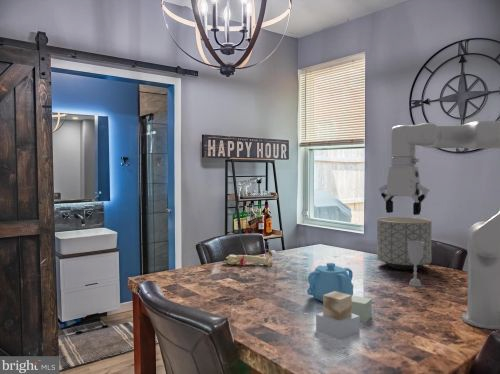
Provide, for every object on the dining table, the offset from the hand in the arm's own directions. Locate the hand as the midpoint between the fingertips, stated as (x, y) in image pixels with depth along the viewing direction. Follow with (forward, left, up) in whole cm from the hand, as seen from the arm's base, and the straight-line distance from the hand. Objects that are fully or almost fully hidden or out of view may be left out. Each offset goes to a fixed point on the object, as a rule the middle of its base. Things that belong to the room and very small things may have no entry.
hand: (402, 213), depth 134 cm
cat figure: (+88, -5, -34) cm, 95 cm away
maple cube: (+4, +30, -29) cm, 42 cm away
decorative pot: (+24, +8, -34) cm, 42 cm away
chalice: (+13, -34, -34) cm, 49 cm away
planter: (+32, -59, -34) cm, 75 cm away
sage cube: (+6, +16, -33) cm, 38 cm away
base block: (+4, +30, -34) cm, 45 cm away
